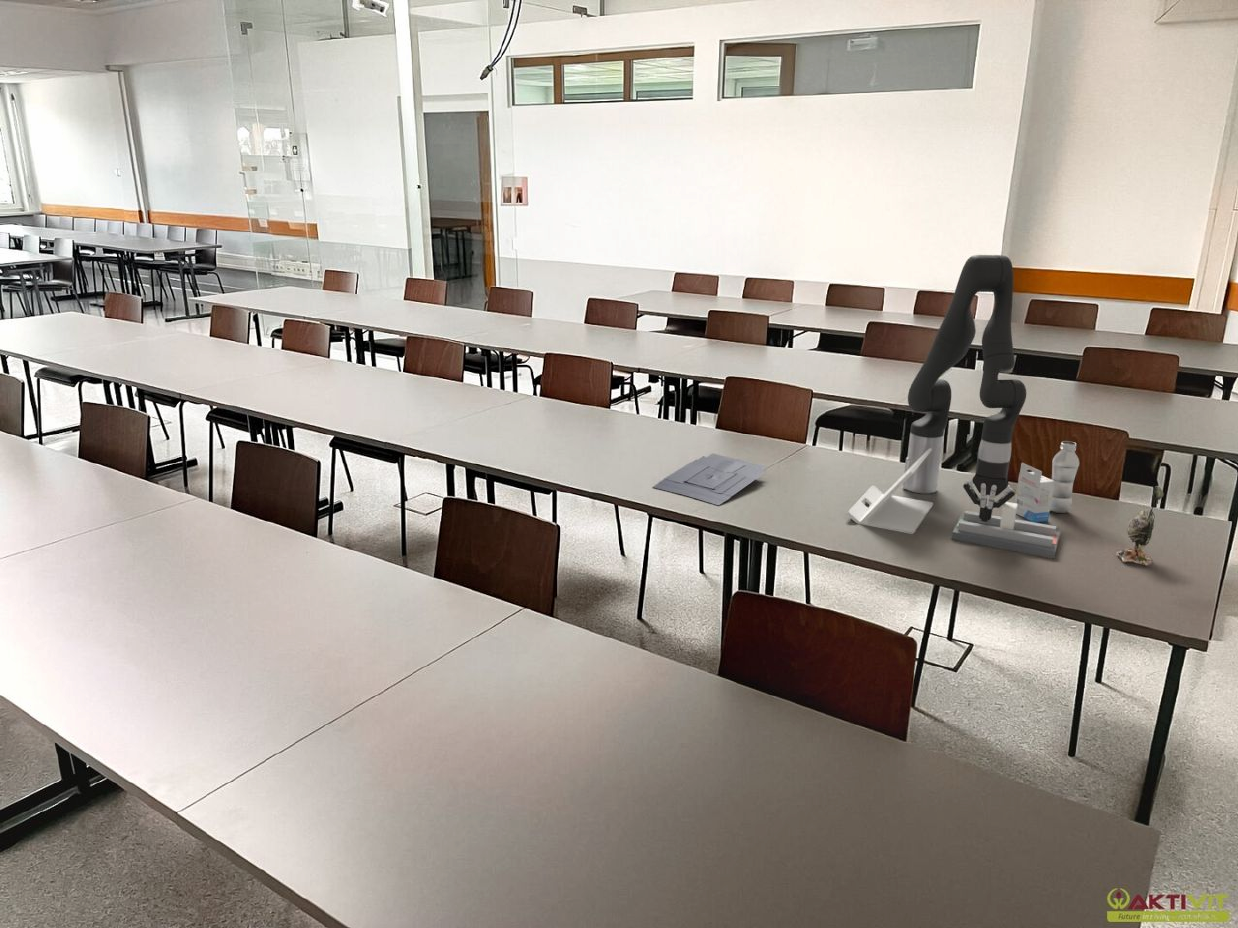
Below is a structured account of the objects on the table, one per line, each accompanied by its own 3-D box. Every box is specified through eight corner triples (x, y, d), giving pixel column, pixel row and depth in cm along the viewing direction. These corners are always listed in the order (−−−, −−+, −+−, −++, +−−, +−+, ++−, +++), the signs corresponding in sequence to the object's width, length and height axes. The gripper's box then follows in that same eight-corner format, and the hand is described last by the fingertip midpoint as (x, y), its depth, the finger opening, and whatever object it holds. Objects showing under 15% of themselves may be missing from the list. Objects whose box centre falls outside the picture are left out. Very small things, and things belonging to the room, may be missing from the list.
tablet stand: (933, 505, 248) (940, 448, 243) (913, 535, 227) (920, 473, 222) (869, 494, 257) (875, 438, 251) (845, 521, 236) (850, 462, 231)
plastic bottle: (1047, 505, 247) (1058, 438, 241) (1073, 511, 243) (1085, 442, 237) (1040, 511, 242) (1052, 443, 236) (1067, 517, 238) (1079, 448, 232)
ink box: (1049, 521, 236) (1057, 470, 231) (1033, 523, 234) (1041, 471, 230) (1027, 510, 243) (1035, 460, 239) (1012, 512, 242) (1020, 462, 238)
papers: (773, 475, 268) (773, 464, 267) (719, 514, 247) (719, 502, 246) (707, 460, 283) (707, 449, 281) (652, 495, 262) (651, 484, 261)
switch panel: (951, 539, 224) (953, 524, 223) (961, 521, 236) (962, 507, 235) (1054, 558, 213) (1056, 543, 212) (1058, 538, 224) (1061, 524, 223)
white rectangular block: (999, 532, 223) (1002, 506, 220) (1001, 526, 226) (1005, 501, 224) (1011, 534, 221) (1015, 509, 219) (1013, 528, 225) (1017, 503, 223)
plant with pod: (1156, 554, 215) (1172, 478, 209) (1149, 570, 207) (1166, 491, 200) (1119, 546, 220) (1134, 472, 213) (1111, 561, 211) (1126, 484, 205)
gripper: (963, 457, 220) (955, 520, 226) (1020, 465, 214) (1010, 530, 219) (968, 449, 226) (960, 511, 232) (1023, 457, 220) (1014, 520, 226)
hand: (984, 520), depth 226 cm, fingers closed
